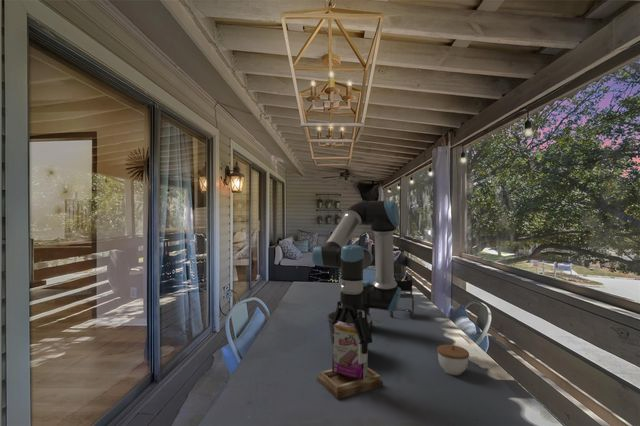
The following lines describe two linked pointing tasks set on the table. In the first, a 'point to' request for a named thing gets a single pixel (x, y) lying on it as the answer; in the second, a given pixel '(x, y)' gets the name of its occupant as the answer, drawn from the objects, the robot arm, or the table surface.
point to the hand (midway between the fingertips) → (350, 354)
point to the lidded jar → (453, 359)
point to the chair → (405, 287)
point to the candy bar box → (347, 351)
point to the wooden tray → (348, 383)
